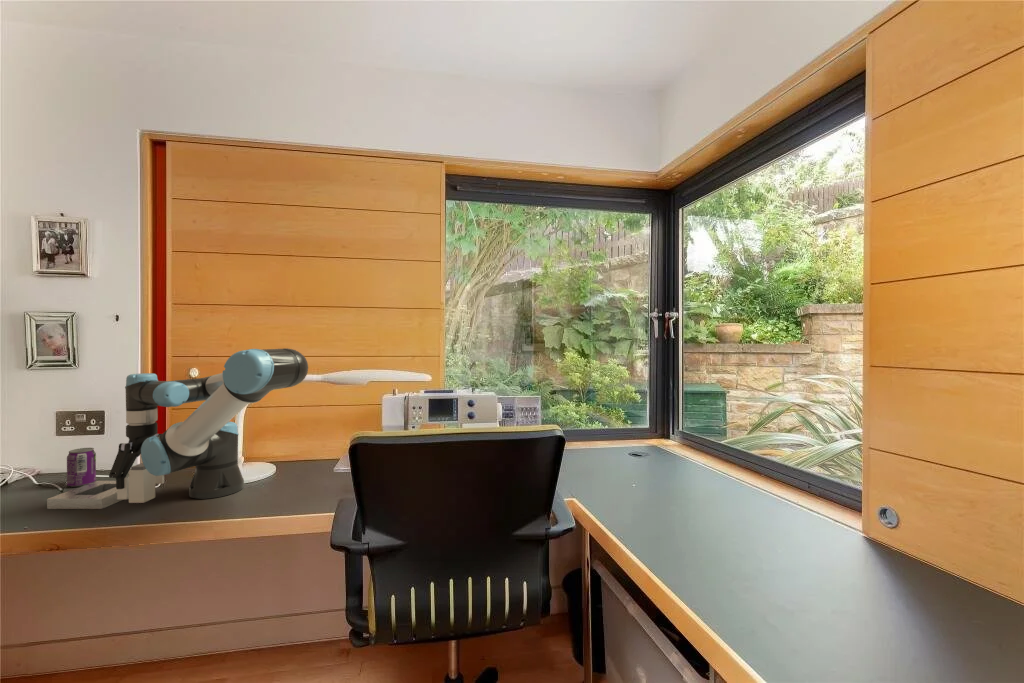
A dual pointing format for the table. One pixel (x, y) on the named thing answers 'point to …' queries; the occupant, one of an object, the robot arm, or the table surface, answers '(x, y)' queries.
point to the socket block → (86, 497)
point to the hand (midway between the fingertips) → (142, 490)
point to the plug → (141, 484)
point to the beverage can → (81, 467)
